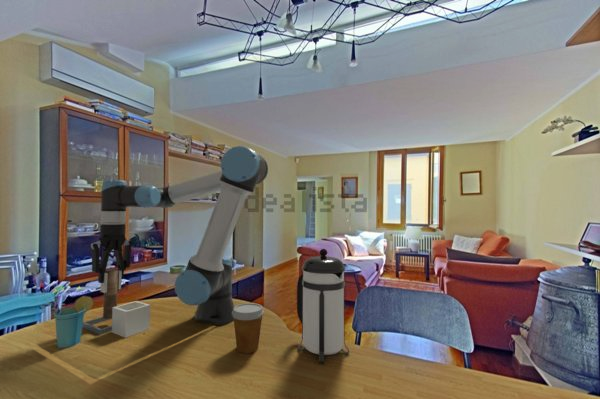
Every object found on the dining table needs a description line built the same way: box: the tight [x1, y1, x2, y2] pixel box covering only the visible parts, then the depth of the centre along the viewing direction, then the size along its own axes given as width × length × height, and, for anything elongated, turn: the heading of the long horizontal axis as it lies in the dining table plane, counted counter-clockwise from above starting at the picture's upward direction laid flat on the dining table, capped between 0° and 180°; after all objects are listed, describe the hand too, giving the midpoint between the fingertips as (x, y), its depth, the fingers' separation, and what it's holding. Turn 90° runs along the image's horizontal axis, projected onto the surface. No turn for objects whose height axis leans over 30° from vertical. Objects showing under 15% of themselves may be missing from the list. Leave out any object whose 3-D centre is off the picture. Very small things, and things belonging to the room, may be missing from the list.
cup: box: [38, 295, 95, 349], centre depth 86 cm, size 14×8×15 cm, turn 161°
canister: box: [111, 300, 151, 338], centre depth 96 cm, size 8×8×9 cm
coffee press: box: [296, 248, 350, 365], centre depth 86 cm, size 17×16×30 cm
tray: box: [82, 316, 112, 336], centre depth 101 cm, size 12×12×2 cm
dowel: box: [102, 268, 118, 320], centre depth 101 cm, size 4×4×16 cm
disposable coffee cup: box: [232, 302, 265, 354], centre depth 87 cm, size 10×10×12 cm
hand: (110, 290), depth 101 cm, fingers closed on dowel, 4 cm apart
